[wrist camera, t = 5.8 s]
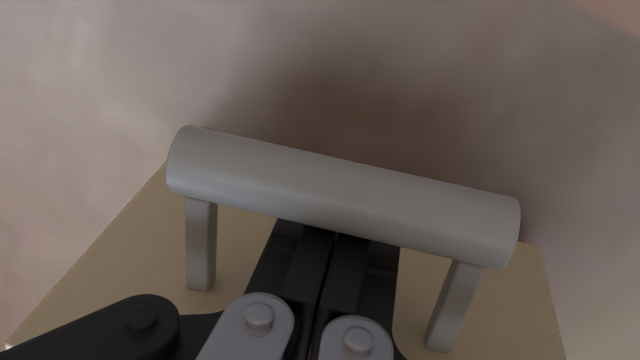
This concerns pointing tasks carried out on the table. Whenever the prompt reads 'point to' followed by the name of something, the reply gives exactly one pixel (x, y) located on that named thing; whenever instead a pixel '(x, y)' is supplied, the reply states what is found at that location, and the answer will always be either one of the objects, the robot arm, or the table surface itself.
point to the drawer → (328, 213)
